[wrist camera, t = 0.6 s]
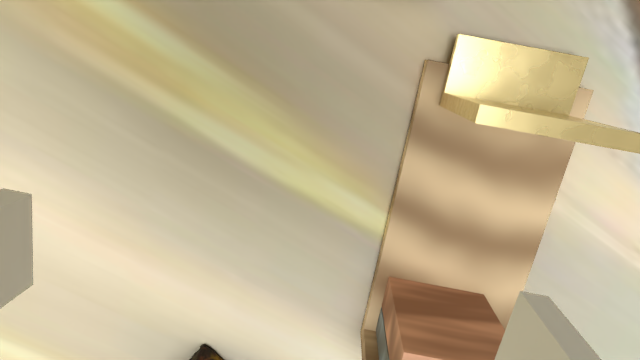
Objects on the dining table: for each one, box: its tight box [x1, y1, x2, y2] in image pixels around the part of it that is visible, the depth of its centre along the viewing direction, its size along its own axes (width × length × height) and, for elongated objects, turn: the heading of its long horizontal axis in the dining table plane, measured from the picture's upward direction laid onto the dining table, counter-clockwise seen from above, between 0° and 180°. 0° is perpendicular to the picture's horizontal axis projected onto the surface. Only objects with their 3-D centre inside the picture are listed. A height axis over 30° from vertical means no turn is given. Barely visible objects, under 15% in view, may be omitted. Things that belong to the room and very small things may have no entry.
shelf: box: [361, 60, 594, 360], centre depth 29 cm, size 24×12×12 cm, turn 170°
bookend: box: [439, 34, 640, 154], centre depth 26 cm, size 5×9×9 cm, turn 80°
